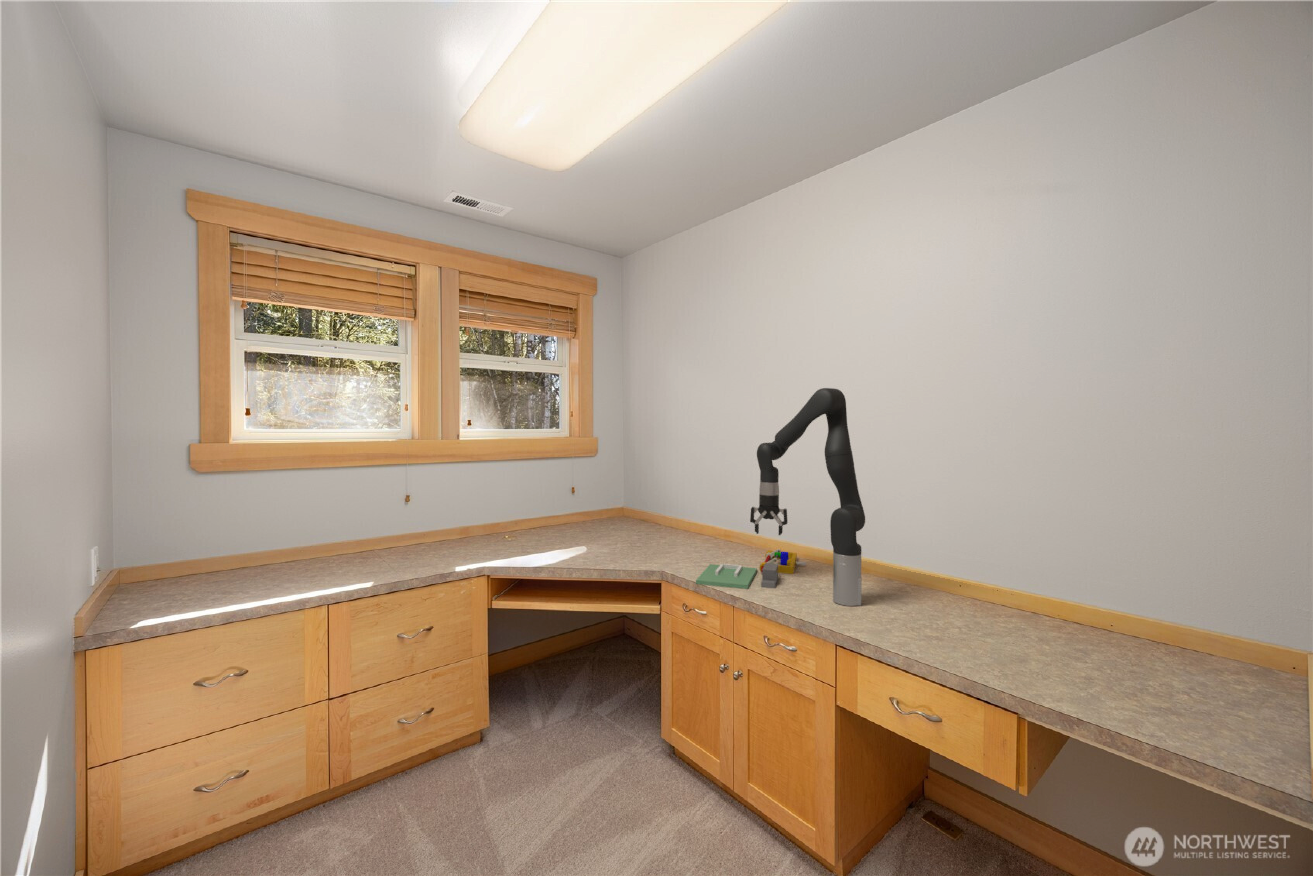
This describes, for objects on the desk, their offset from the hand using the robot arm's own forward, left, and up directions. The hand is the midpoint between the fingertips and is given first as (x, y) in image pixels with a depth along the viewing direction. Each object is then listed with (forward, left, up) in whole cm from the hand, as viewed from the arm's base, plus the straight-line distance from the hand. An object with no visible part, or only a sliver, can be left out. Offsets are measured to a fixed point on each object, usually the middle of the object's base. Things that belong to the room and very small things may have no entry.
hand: (768, 534), depth 209 cm
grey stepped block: (-1, +3, -18) cm, 19 cm away
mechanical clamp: (-4, -23, -19) cm, 30 cm away
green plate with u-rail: (+16, +1, -18) cm, 24 cm away
